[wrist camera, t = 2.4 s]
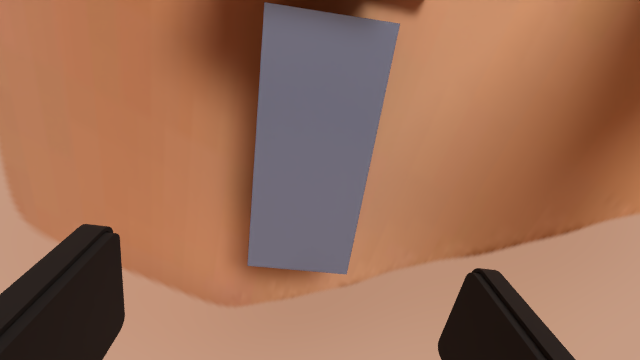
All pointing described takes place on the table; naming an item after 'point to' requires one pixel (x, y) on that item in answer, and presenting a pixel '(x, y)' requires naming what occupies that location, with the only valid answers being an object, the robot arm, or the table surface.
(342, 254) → the blue-grey rectangular block
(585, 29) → the table surface
